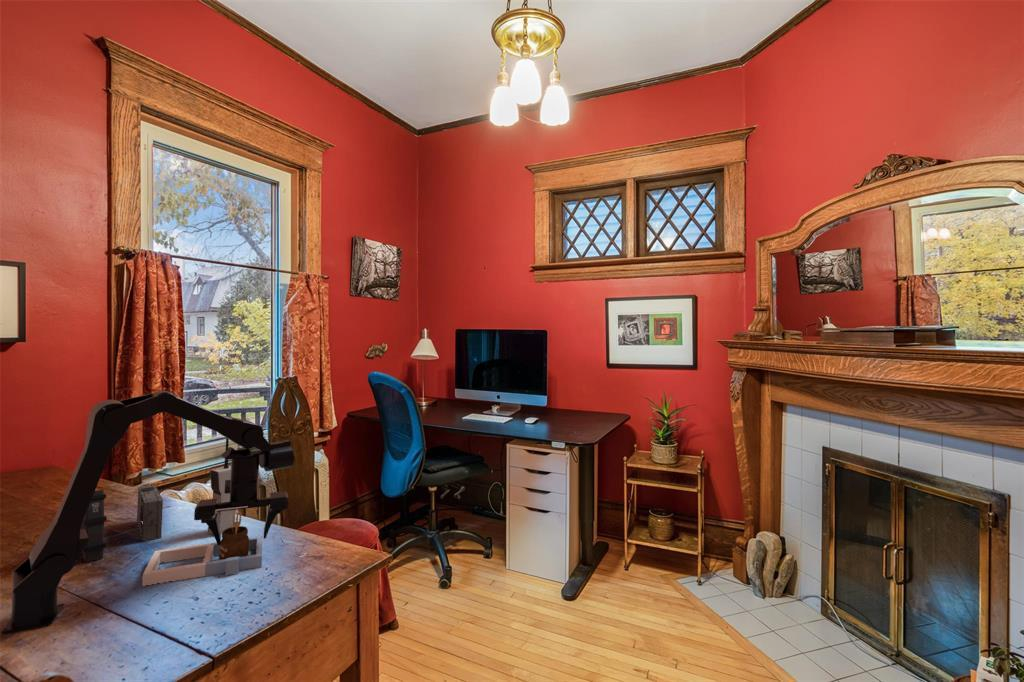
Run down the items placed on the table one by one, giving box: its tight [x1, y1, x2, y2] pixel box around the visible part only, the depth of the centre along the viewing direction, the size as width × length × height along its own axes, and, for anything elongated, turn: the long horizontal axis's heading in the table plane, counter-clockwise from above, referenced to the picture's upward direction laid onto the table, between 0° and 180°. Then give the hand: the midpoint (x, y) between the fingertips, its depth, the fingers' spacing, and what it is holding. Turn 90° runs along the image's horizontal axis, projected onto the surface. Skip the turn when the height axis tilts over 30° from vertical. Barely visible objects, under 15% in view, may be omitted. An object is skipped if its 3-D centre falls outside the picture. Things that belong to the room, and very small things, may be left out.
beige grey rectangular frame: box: [142, 535, 264, 587], centre depth 105 cm, size 14×22×3 cm, turn 118°
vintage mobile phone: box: [207, 437, 236, 535], centre depth 122 cm, size 4×5×25 cm
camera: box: [136, 484, 164, 542], centre depth 121 cm, size 16×4×10 cm, turn 44°
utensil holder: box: [218, 509, 250, 560], centre depth 107 cm, size 6×6×12 cm
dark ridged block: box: [80, 489, 107, 563], centre depth 108 cm, size 4×13×15 cm, turn 49°
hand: (242, 541), depth 108 cm, fingers open, 9 cm apart
